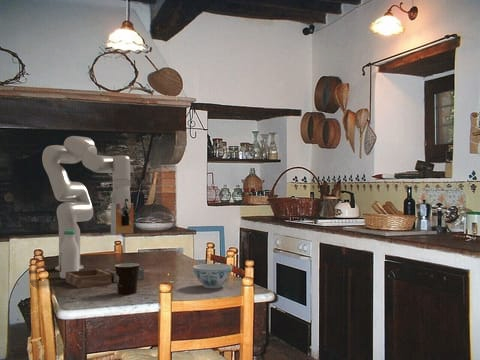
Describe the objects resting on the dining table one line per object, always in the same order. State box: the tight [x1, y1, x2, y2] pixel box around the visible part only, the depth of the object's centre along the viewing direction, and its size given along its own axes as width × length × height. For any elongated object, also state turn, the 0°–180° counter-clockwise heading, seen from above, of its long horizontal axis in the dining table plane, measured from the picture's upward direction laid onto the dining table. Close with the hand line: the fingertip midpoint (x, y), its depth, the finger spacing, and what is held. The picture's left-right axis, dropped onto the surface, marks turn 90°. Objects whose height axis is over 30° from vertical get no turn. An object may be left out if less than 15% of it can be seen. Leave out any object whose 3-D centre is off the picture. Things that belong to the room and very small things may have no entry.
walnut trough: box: [65, 268, 112, 289], centre depth 198 cm, size 16×13×4 cm
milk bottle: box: [59, 230, 80, 280], centre depth 212 cm, size 8×8×20 cm
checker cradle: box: [103, 267, 145, 283], centre depth 207 cm, size 11×13×4 cm
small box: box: [110, 203, 134, 235], centre depth 217 cm, size 8×6×13 cm
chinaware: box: [192, 263, 233, 289], centre depth 190 cm, size 15×15×8 cm
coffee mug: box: [114, 262, 140, 296], centre depth 177 cm, size 12×9×10 cm
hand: (121, 224), depth 216 cm, fingers closed on small box, 6 cm apart
